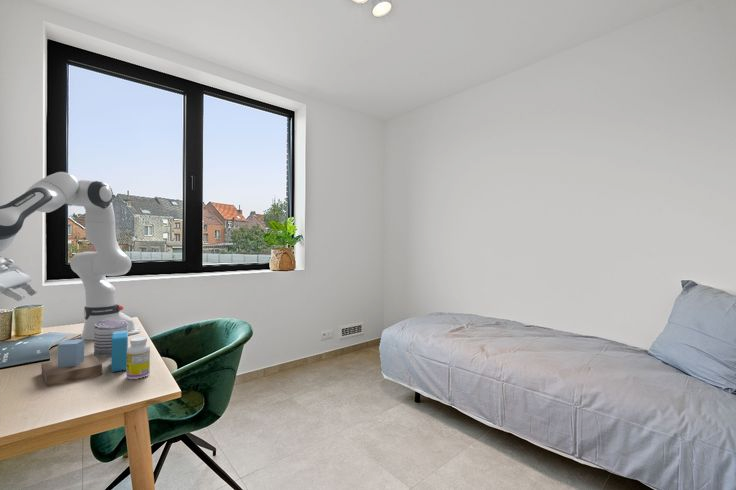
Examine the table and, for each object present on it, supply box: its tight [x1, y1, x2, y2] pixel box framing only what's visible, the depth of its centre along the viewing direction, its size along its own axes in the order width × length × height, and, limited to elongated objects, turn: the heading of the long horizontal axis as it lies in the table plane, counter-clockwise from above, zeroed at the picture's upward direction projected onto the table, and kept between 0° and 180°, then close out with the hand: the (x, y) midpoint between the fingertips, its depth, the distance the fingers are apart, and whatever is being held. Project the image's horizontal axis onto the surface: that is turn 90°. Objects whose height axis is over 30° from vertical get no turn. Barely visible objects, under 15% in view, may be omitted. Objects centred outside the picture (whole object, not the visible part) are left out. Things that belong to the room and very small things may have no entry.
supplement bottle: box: [125, 336, 151, 380], centre depth 119 cm, size 7×7×13 cm
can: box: [93, 320, 129, 357], centre depth 142 cm, size 11×11×12 cm
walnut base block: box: [41, 353, 103, 387], centre depth 119 cm, size 14×14×4 cm
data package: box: [110, 330, 129, 373], centre depth 127 cm, size 12×4×12 cm, turn 34°
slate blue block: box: [57, 338, 85, 367], centre depth 119 cm, size 5×5×8 cm
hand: (28, 296), depth 118 cm, fingers open, 8 cm apart
